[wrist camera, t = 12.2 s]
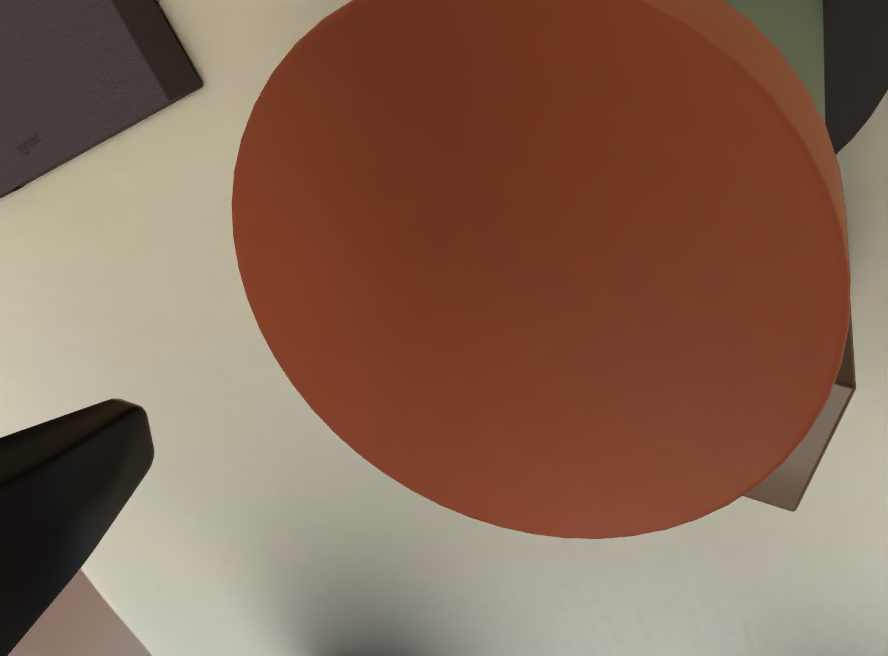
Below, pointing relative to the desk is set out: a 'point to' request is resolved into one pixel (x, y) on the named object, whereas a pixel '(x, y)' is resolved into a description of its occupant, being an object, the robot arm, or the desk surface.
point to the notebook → (80, 78)
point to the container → (553, 249)
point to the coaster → (853, 64)
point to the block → (810, 442)
